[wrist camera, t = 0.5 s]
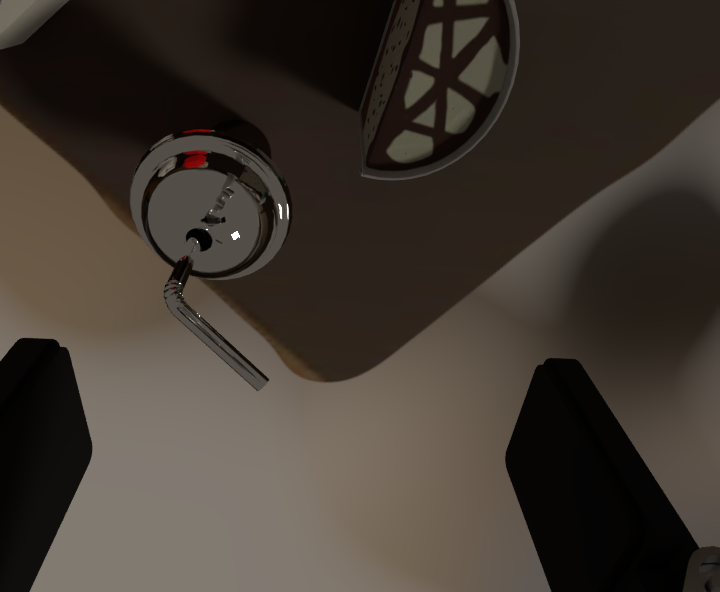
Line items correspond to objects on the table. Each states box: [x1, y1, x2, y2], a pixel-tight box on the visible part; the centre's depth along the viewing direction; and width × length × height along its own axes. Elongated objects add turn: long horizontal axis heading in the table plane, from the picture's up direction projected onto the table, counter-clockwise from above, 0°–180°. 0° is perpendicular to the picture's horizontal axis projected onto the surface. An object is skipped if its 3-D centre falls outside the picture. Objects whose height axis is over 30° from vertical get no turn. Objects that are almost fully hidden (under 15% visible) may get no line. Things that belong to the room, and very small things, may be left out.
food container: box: [358, 0, 520, 180], centre depth 30 cm, size 12×6×10 cm, turn 161°
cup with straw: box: [130, 119, 292, 391], centre depth 28 cm, size 8×9×20 cm
